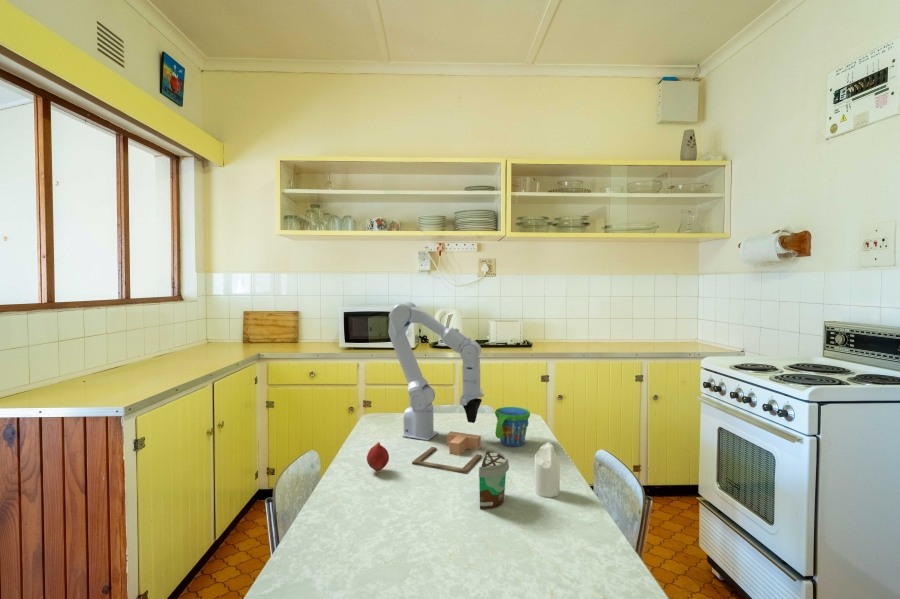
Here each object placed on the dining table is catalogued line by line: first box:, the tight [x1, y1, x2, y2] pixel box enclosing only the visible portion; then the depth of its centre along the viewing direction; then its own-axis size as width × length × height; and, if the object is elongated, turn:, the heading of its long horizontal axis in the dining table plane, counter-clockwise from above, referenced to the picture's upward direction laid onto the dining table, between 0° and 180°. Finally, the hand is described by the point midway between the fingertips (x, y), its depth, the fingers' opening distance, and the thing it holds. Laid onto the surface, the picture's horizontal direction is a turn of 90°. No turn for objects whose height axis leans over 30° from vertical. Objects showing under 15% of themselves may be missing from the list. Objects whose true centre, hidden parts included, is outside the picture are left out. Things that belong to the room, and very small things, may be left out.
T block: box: [446, 431, 482, 456], centre depth 140 cm, size 9×10×4 cm
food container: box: [478, 448, 510, 510], centre depth 108 cm, size 12×6×10 cm, turn 168°
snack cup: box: [494, 406, 531, 447], centre depth 145 cm, size 16×10×10 cm
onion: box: [366, 441, 390, 473], centre depth 124 cm, size 6×6×8 cm
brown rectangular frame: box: [411, 446, 483, 475], centre depth 132 cm, size 16×12×1 cm
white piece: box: [534, 441, 561, 498], centre depth 112 cm, size 6×12×6 cm
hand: (471, 422), depth 149 cm, fingers closed
